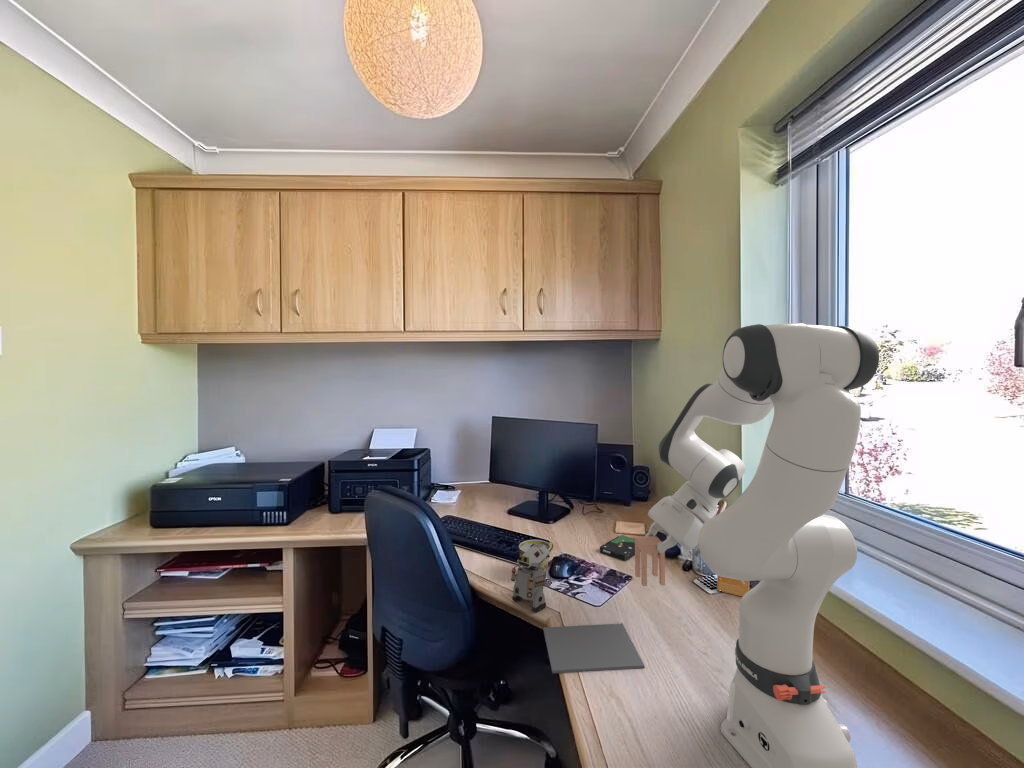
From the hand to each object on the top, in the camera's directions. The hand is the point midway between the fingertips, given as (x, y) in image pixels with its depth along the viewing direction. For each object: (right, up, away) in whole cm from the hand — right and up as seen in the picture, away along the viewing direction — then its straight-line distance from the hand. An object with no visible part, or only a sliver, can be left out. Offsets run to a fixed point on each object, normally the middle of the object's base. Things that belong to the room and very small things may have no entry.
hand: (652, 544), depth 106 cm
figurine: (-29, -21, +12) cm, 38 cm away
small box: (+29, -20, +17) cm, 38 cm away
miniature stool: (-1, -9, 0) cm, 9 cm away
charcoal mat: (-17, -21, -7) cm, 28 cm away
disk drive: (+4, -19, +44) cm, 48 cm away
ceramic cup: (-27, -20, +27) cm, 43 cm away
